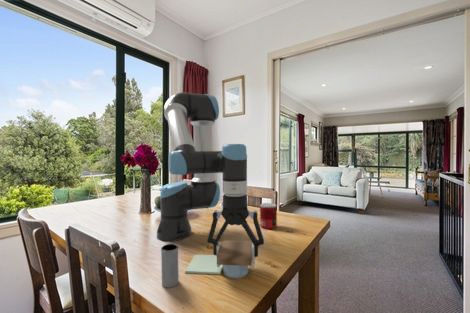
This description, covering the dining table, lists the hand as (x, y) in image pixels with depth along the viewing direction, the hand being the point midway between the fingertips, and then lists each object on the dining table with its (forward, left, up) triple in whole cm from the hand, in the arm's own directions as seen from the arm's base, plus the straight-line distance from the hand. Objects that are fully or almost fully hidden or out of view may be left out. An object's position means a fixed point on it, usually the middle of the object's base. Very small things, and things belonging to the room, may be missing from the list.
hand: (235, 265), depth 68 cm
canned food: (+12, +42, -2) cm, 44 cm away
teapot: (-10, +65, -2) cm, 66 cm away
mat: (-10, +4, -2) cm, 11 cm away
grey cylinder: (-18, -7, -2) cm, 20 cm away
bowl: (0, 0, -2) cm, 2 cm away
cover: (0, 0, +3) cm, 3 cm away
